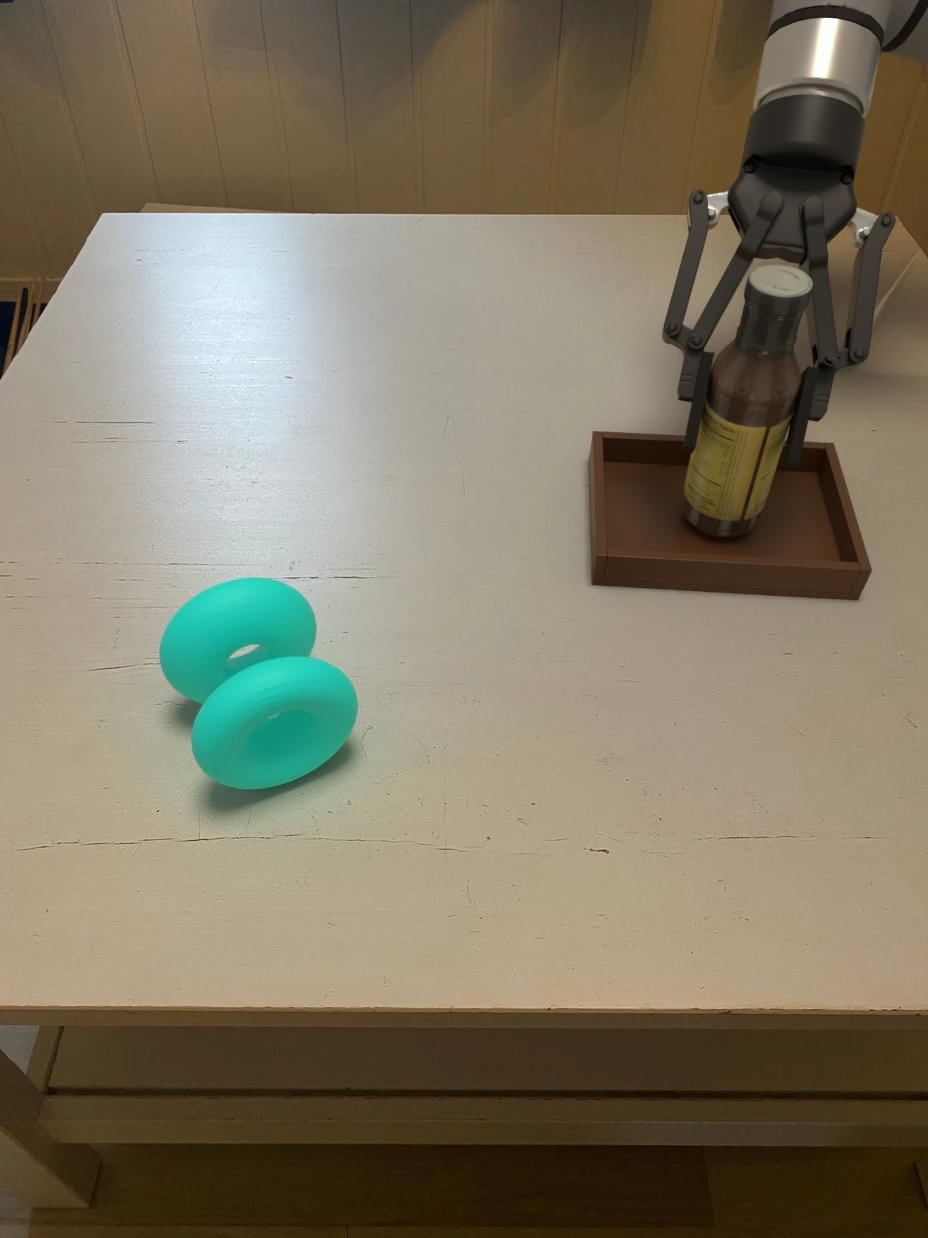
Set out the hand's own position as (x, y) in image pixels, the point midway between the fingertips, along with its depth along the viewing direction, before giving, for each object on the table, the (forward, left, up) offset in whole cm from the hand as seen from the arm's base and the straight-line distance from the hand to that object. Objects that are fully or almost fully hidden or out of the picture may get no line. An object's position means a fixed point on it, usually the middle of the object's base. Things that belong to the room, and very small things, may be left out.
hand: (738, 457), depth 65 cm
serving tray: (-1, -4, -10) cm, 10 cm away
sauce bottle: (-1, -4, -9) cm, 9 cm away
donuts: (+30, +18, -10) cm, 37 cm away
